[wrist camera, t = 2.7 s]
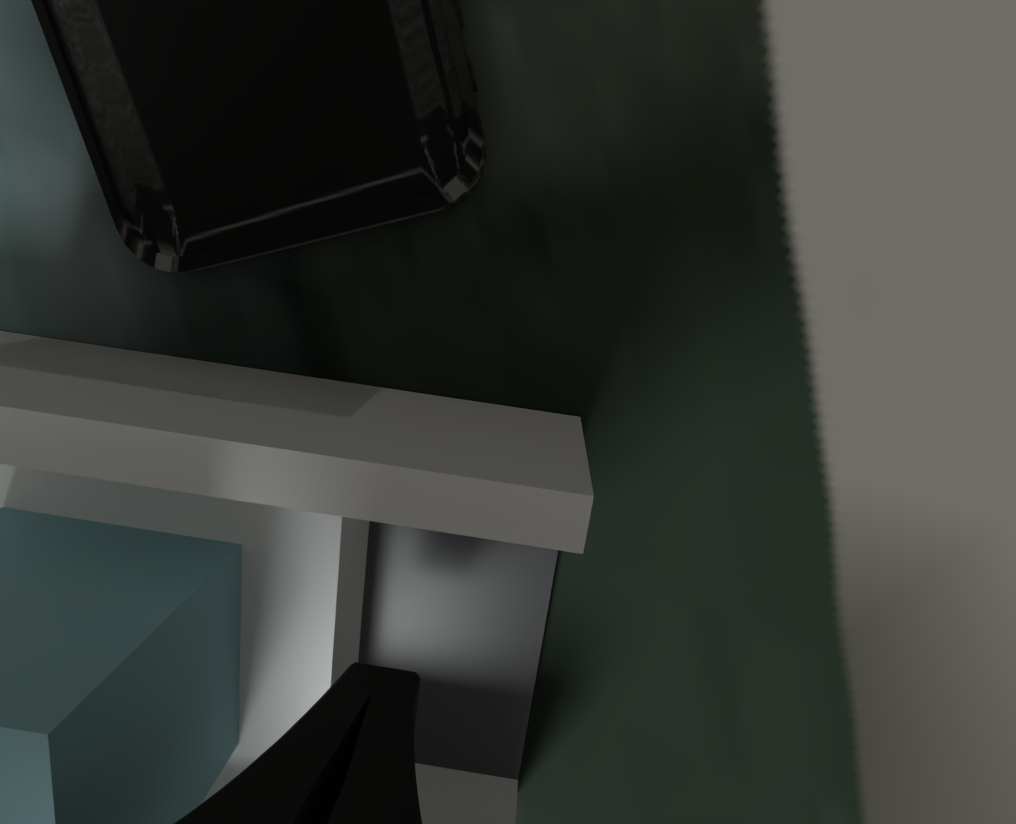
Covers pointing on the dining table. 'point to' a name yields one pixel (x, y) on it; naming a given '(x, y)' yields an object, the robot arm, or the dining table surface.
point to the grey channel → (326, 532)
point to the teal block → (114, 670)
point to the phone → (267, 118)
